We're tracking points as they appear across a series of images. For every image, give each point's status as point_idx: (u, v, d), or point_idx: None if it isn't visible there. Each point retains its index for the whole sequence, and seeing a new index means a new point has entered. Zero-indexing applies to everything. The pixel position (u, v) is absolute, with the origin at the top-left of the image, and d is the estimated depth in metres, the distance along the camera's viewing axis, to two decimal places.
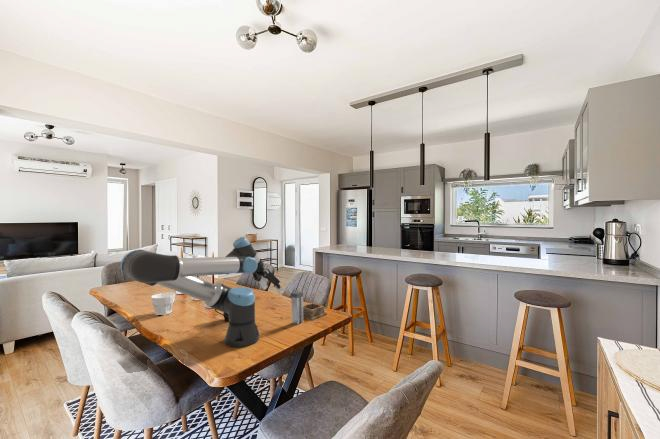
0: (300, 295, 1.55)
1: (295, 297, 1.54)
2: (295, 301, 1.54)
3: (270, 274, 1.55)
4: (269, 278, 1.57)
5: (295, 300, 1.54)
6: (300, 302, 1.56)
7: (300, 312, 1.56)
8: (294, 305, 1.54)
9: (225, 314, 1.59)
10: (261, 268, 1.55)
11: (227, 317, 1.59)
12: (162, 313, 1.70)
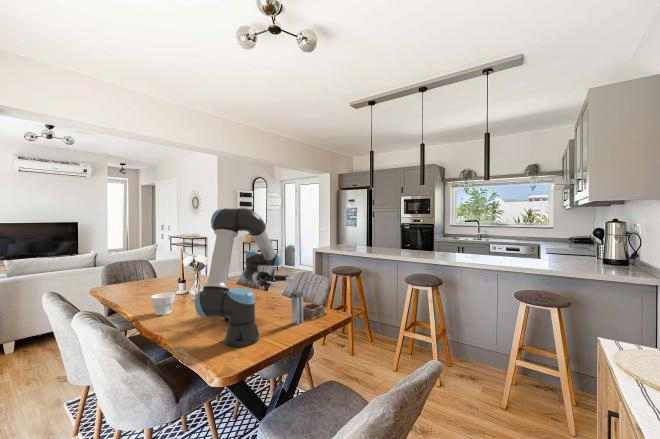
0: (300, 295, 1.55)
1: (295, 297, 1.54)
2: (295, 301, 1.54)
3: None
4: None
5: (295, 300, 1.54)
6: (300, 302, 1.56)
7: (300, 312, 1.56)
8: (294, 305, 1.54)
9: None
10: None
11: None
12: (162, 313, 1.70)
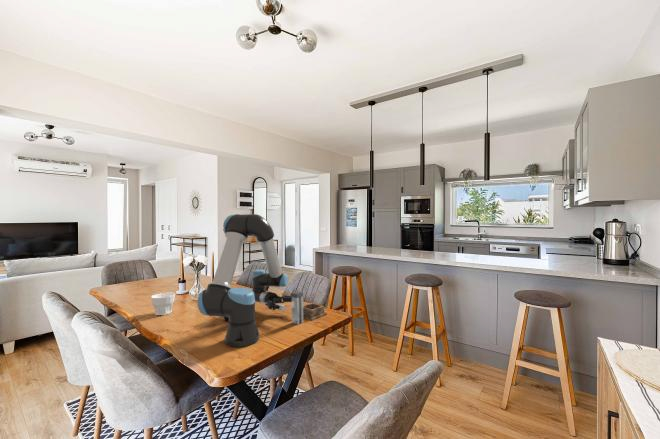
0: (300, 295, 1.55)
1: (295, 297, 1.54)
2: (295, 301, 1.54)
3: None
4: None
5: (295, 300, 1.54)
6: (300, 302, 1.56)
7: (300, 312, 1.56)
8: (294, 305, 1.54)
9: None
10: None
11: (227, 317, 1.59)
12: (162, 313, 1.70)
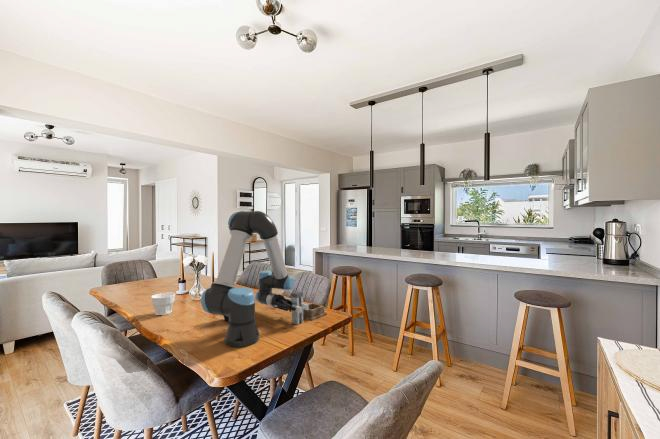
0: (300, 295, 1.55)
1: (295, 297, 1.54)
2: (295, 301, 1.54)
3: None
4: None
5: (295, 300, 1.54)
6: (300, 302, 1.56)
7: None
8: None
9: None
10: None
11: (227, 317, 1.59)
12: (162, 313, 1.70)
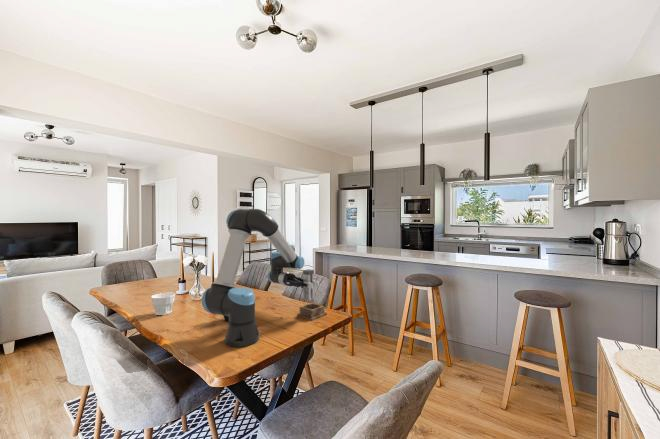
0: (311, 272, 1.64)
1: (306, 274, 1.63)
2: (306, 278, 1.63)
3: None
4: None
5: (306, 277, 1.63)
6: (311, 279, 1.65)
7: (311, 288, 1.65)
8: None
9: None
10: None
11: (227, 317, 1.59)
12: (162, 313, 1.70)
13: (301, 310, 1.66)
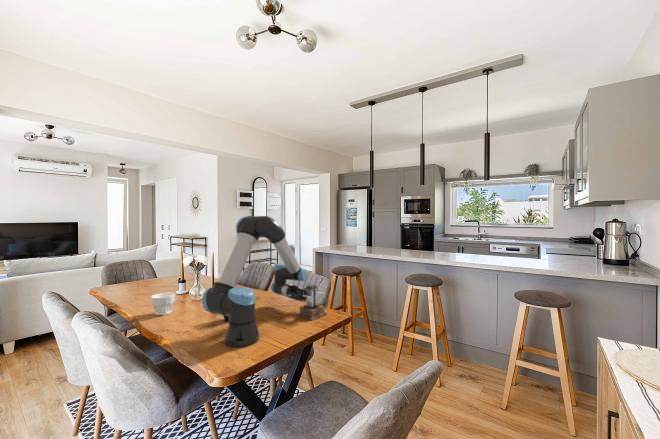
0: (314, 287, 1.66)
1: (310, 289, 1.65)
2: (310, 293, 1.65)
3: None
4: None
5: (310, 292, 1.65)
6: (314, 294, 1.67)
7: (314, 303, 1.67)
8: None
9: None
10: None
11: (227, 317, 1.59)
12: (162, 313, 1.70)
13: (301, 310, 1.66)
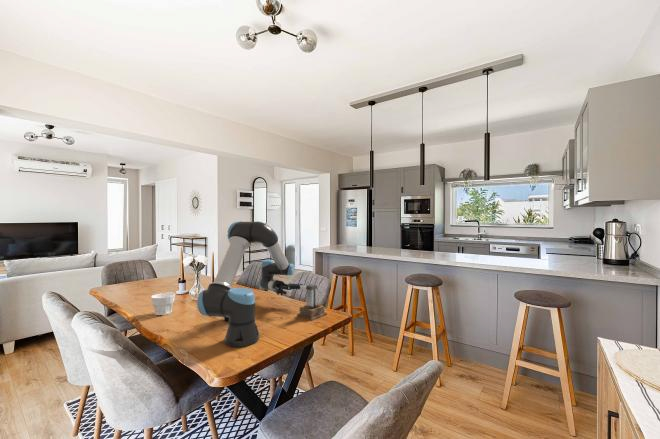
0: (314, 287, 1.66)
1: (310, 289, 1.65)
2: (310, 293, 1.65)
3: None
4: None
5: (310, 292, 1.65)
6: (314, 294, 1.67)
7: (314, 303, 1.67)
8: (309, 297, 1.66)
9: None
10: None
11: (227, 317, 1.59)
12: (162, 313, 1.70)
13: (301, 310, 1.66)
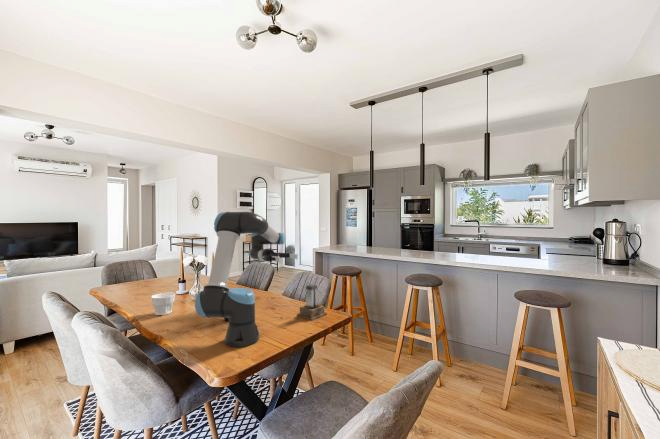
0: (314, 287, 1.66)
1: (310, 289, 1.65)
2: (310, 293, 1.65)
3: None
4: None
5: (310, 292, 1.65)
6: (314, 294, 1.67)
7: (314, 303, 1.67)
8: (309, 297, 1.66)
9: None
10: None
11: None
12: (162, 313, 1.70)
13: (301, 310, 1.66)
